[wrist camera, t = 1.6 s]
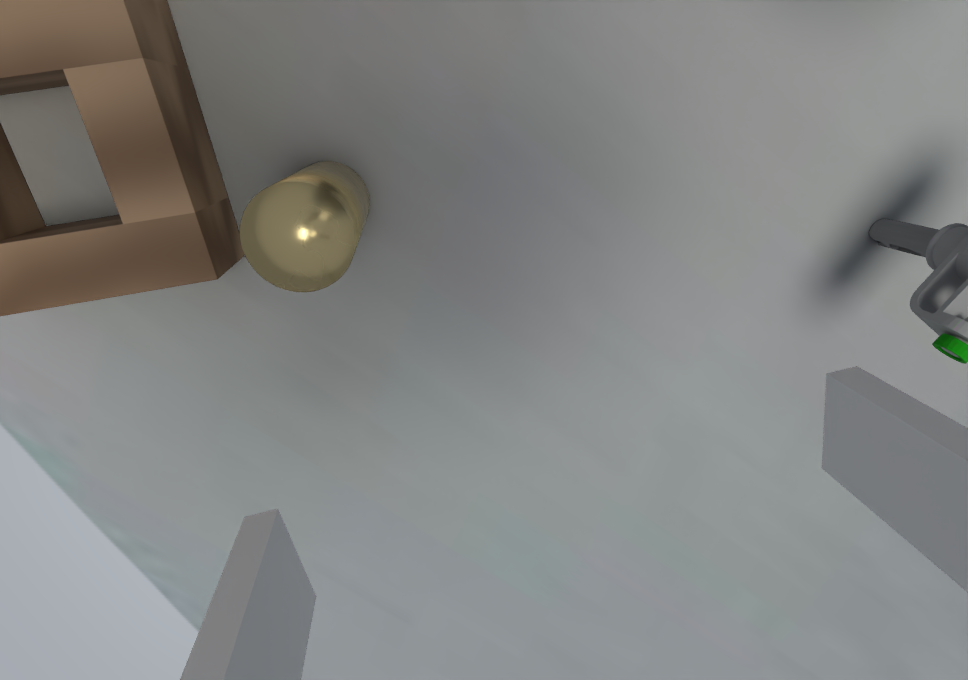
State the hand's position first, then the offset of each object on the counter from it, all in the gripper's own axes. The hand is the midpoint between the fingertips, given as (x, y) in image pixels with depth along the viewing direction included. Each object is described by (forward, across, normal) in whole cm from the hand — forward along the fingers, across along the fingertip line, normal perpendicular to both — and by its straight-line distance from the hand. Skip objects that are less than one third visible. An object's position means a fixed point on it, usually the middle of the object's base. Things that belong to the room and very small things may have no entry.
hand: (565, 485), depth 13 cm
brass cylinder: (+20, -6, +5) cm, 22 cm away
